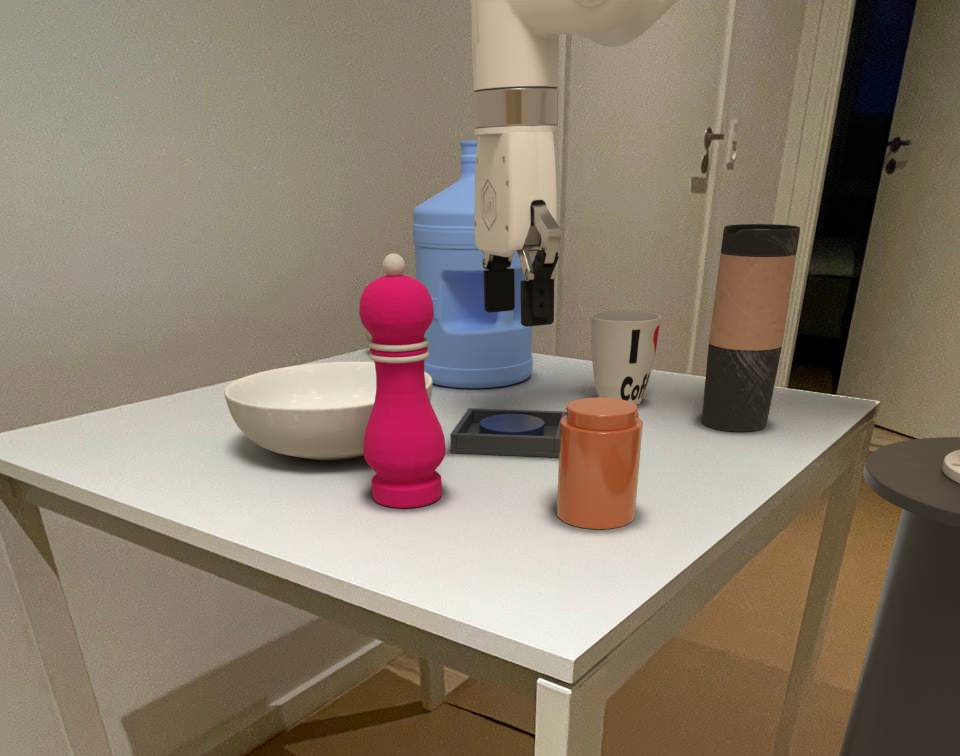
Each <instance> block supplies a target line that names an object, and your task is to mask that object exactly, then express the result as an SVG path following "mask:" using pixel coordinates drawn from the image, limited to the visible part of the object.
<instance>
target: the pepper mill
mask: <svg viewBox="0 0 960 756" xmlns="http://www.w3.org/2000/svg"><path fill="white" fill-rule="evenodd" d="M382 269H383V272H384V274H385V275H383V276H382V275H381V276H380V277H378V278H375V279H373V280H372V281H371V282H369V283H368V284H367V285H366V286H365V288H364V289H363V291H362V293H361V296H360V299H359V305H358V306H359V307H358V313H359V319H360V321H361V324H362V327H364V329H365V331H366V330H367V331H368V332H369V333H370V334H371V336H372V339H371V340H370V341H369V342H368V341H367V346H368V347H369V353H368V358H369V359H371V360H372V361H373V362H375V370H376V395H375V402H374V405H373V408H372V412H371V415H370V418H369V421H368V424H367V427H366V430H365V435H364V441H363V454H364V456H363V458H364V460H365V462H366V464H367V465H368V466H369V467H370V468H371V469H372V470H373V471H374V472H376V473H375V474H374V475H373V476H372V477H371V480H370V481H371V493H372V499H373V500H374V502H375V503H377V504H379V505H381V506H385V507H389V508H397V509H413V508H421V507H424V506H429V505H431V504H433V503H435V502H437V501H439V500H440V499H441V497H442V494H443V487H442V486H443V485H442V483H443V482H442V475H441V474H440V473H439V472H438V471H436V470H437V469H438V467H439V466H440V465H441V464H442V462H443V461H444V459H445V457H446V452H447V447H446V439H445V434H444V430H443V427H442V425H441V422H440V421H439V419H438V416H437V414H436V412H435V410H434V408H433V406H432V403H431V401H430V400H429V398H428V394H427V390H426V384H425V375H424V365H425V359H426V358H427V357H428V356H429V351H428V347H427V346H428V344H429V341H428V339H426V338H424V335H425V332H426V331H427V329H428V328H429V326H430V325H431V323H432V320H433V317H434V308H433V302H432V298H431V295H430V293H429V291H428V290H427V288H426V287H425V286H424V285H423V284H422V283H421V282H420V281H418V280H417V279H416V278H414V277H412V276H409V275H404V273H405V271H406V262H405V260H404V258H403V257H402V256H401V255H400V254H398V253H389V254H388V255H386V256H385V258H384V259H383V261H382Z"/></svg>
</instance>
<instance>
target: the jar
mask: <svg viewBox="0 0 960 756" xmlns="http://www.w3.org/2000/svg"><path fill="white" fill-rule="evenodd" d="M565 410H566V412H567V415H566V416H564V417H563V418H561V420H560V442H559V458H558V468H557V469H558V471H557V473H558V474H557V497H556V498H557V499H556V516H557V517H558V519H559V520H561V521H562V522H563V523H566V524H568V525H569V526H574V527H577V528H581V529H587V530H589V529H590V530H609V529H617V528H622V527H624V526H626V525H629V524H631V523H632V522H633V521H634V519H635V518H636V506H637V495H638V484H639V475H640V474H639V473H640V463H641V462H640V460H641V450H642V439H643V427H644V422H643V420H642V419H641V418H640V417H639V414H640V413H639V412H638V410H639V407H638V405H636V404H634V403H632V402H629V401H626V400H622V399H616V398H600V397H585V398H579V399H574V400H573V401H570V402H569V403H567V404H566V405H565ZM565 410H564V411H565Z"/></svg>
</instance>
